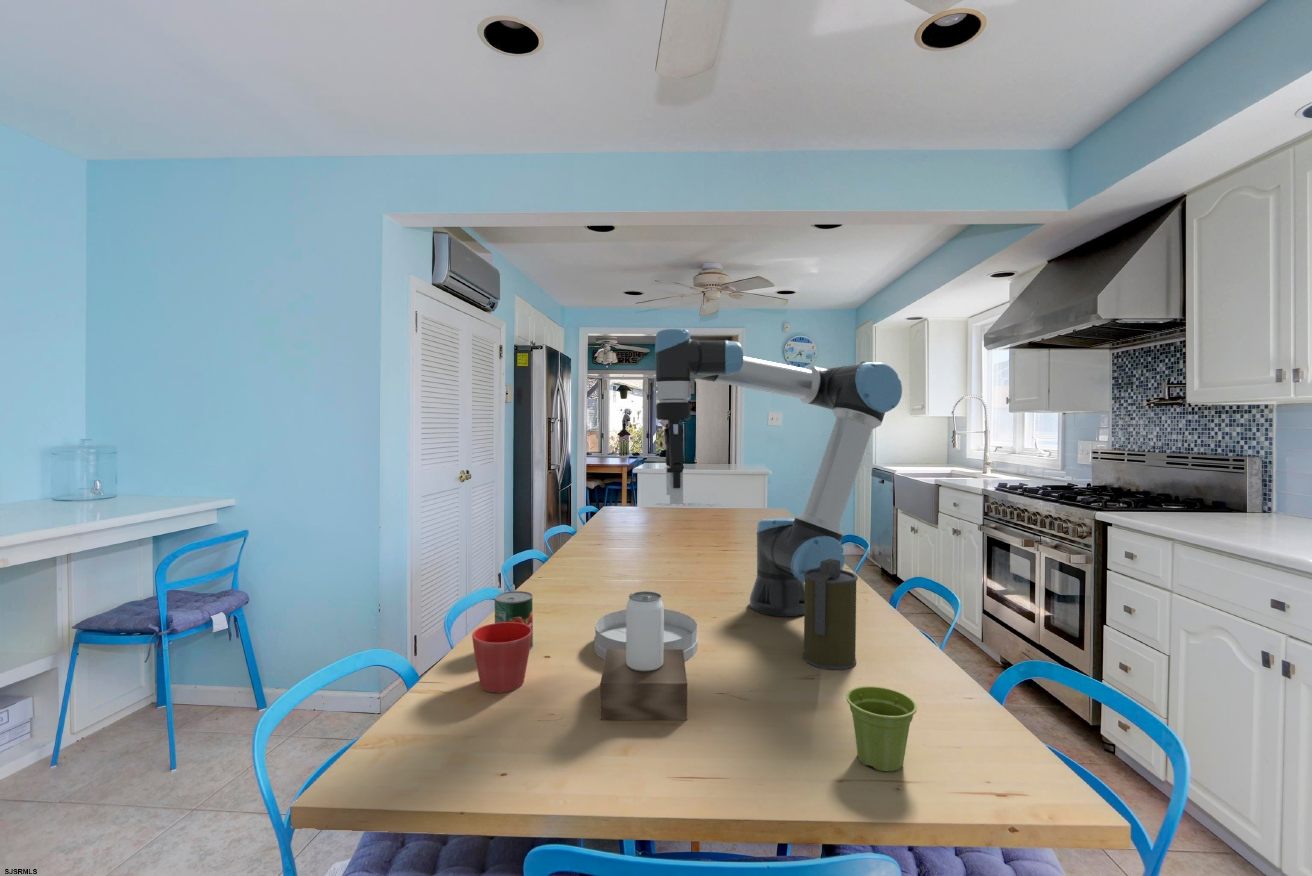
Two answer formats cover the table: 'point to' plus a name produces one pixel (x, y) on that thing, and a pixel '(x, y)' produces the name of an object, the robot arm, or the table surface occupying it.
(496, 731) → the table surface
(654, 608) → the can
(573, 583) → the table surface
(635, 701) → the walnut base
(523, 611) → the canned tomato
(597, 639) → the dish
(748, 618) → the table surface
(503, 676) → the flower pot
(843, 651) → the canister
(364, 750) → the table surface
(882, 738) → the plant pot
